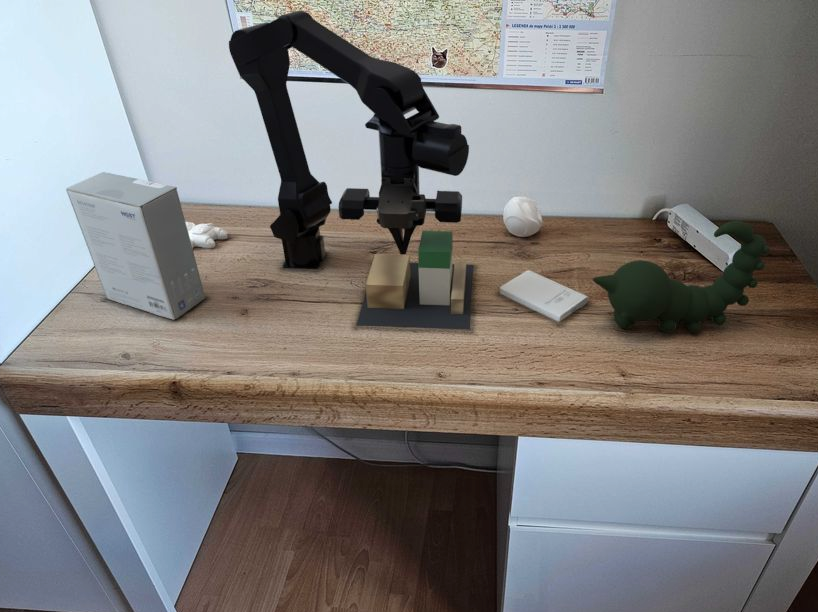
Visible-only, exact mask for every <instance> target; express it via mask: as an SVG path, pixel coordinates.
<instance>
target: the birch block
mask: <svg viewBox="0 0 818 612" xmlns="http://www.w3.org/2000/svg"><path fill="white" fill-rule="evenodd" d="M410 263H411V256H410V254H406V255H401V254H394V253H392V254H391V253H390V254H389V253H375V254H374V256H373V259H372V262H371V266H370V269H369V273H368V275H367V279H366V283H365V294H366V293H367V305H368V308H389V309H404V307H405V302H406V297H407V292H408V287H409V282H410Z"/></svg>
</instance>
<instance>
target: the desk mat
mask: <svg viewBox="0 0 818 612" xmlns="http://www.w3.org/2000/svg"><path fill="white" fill-rule="evenodd" d="M454 265H455V263H454V264H453V263H452V284H453V275H454ZM473 282H474V264H466V284H465V297H464V310H463V315H462V314H451V299H450V305H422V304H420V296H419V263H418V262H410V282H409V287H408V292H407V297H406V302H405V307H404V309H389V308H368V305H367V293H366V292H365V294H364V297H363V301H362V304H361V308H360V310H359V314H358V317H357V320H356V321H357V322H356V324H355V325H356V326H358V327H360V326H361V327H383V328H384V327H387V328H388V327H389V328H411V329H412V328H413V329H414V328H415V329H442V330H443V329H444V330H467V331H468V330H469V331H470V329H471V313H472V299H473V298H472V297H473ZM451 293H452V290H451Z"/></svg>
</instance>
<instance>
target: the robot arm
mask: <svg viewBox="0 0 818 612" xmlns="http://www.w3.org/2000/svg"><path fill="white" fill-rule="evenodd" d="M228 49H229V50H228V51H229V53H230V56H231V59H232V60H233V63H234V65H235V68H236V70H237V73H238V75H239V76H240V78H241V79H242V80H243V81H244V82H245V83H246V84H247V85H248V86H249V88H251V89H252V91H254V94H255V97H256V101H257V104H258V107H259V110H260V113H261V117H262V121H263V123H264V127H265V130H266V134H267V137H268V141H269V144H270V147H271V150H272V151H271V152H272V153H273V154H272V155H273V157H274V161H275V164H276V167H277V171H278V174H279V177H280V184H279V190H278V196H277V203H278V210H279V215H278V216H277V218H276V219H275V220H274V221H273V222H272V223H271V224H270V226H269V228H270V230H271V232H272V235H273V237H274V238H275V239H278V240H281V245H282V250H283V256H284V262H283V264H282V269H294V270H295V269H298V270H318V269H320V266H321V264H322V263H323V262H324V261H325V258H326V248H325V240H324V239H325V238H324V236H323V235H322V234H321V231H320V227H322V226H324V225H326V221H327V218H328V217H329V215H330V213H331V210H332V209H331V205H332V204H333V201H332V200H331V197H330V195H329V191H328V190H329V189H328V185H327V183H326V182H325V181H319V180H318V179H317V178H316V177H315V176H314V175H313V174H312V173H311V171H310V167H309V163H308V159H307V157H306V152H305V149H304V146H303V142H302V138H301V134H300V129H299V128H298V123H297V120H296V117H295V112H294V108H293V106H292V101H291V98H290V94H289V90H288V85H287V81H288V76H289V71H290V67H291V66H290V65H291V60H290V54H289V50H290V49H294V50H297V52H300V53H301V54H302V55H304V56H305V57H307V58H309V59H310V60H312V61H313V62H314V63H316V64H318V65H319V66H321V68H324V69H325V70H327V71H329V72H330V73H331V74H333V75H334V76H336V77H337V78H339V79H340V80H342V81H343V82H345V83H347V84H348V85H349V86H350V87H352V88H353V89H354V90H355V91H356V93H357V95H358V97H359V99H360V101H361V103H362V104H363V105H365V106H366V107H367V108H368V109H369V110H370V111H371V112H373V116H372V117H371V118H370V119H369V120H368V121H367V122H366V123H365V124H364V126H365V128H366V129H369V130H373V131H378V144H379V146H378V148H379V163H380V178H381V179H380V182H381V183H380V184H381V185H380V188H379V191H378V196H371V195H370V190H369V188H352V187H347V188H346V189H345V190H344V191H342V195H341V197H340V199H339V202H338V216H339V218H340V219H341V220H351V221H353V220H357V221H358V220H361V218H362V217H364V215H365V210H366V211H368V210H369V211H376V213H377V218H376V223H377V224H378V225H379V226H380V227H381V228H383V229H387V230H388V231H389V233H390V234H391V236H392V238H393V241H394V243H395V245H396V247H397V249H398V252H399V255H407V252H408V249H409V244H410V241H411V238H412V235H413V233H414V231H415V230H416V228H417V227H418V226H419V227H420V226H423V225H424V224H425V220H426V216H427V212H432V213H433V212H434V218H435V219H436V220H437V221H438V222H439V223H448V224H449V223H450V224H451V223H452V224H457V223H460V222H461V221H462V212H463V211H462V210H463V194H462V193H461V192H460V191H458V190H457V191H455V190H437V191H436V196H435V198H426V195H425V193H424V194H421V193H420V168H421V169H423V170H424V169H425V170H428V171H433V172H437V173H440V174H445V175H449V176H454V177H457V176H459V175H461V174H462V172H463V171H464V169H465V167H466V165H467V164H468V163H467V162H468V159H469V153H470V144H468V140H467V138H466V136H465V134H463V133H462V126H461V125H460V124H456V123H444V122H439V121H437V120H439V118H440V115H439V113H438V111H437V109H436V108H435V105H434V104H433V103H432V101H431V99H430V97H429V96H428V94H427V92H426V90H425V89H424V87H423V84H422V78H421V76H420V75H419V74H418V73H417V72H416V71H415V70H414V69H411V68H409V67H406V66H404V65H402V64H399V63H396V62H394V61H389V60H385V59H378V58H375V57H374V56H371V55H370V54H368V53H366V52H365V51H363V50H362V49H360V48H358V47H357V46H356V45H354V44H352V43H351V42H349V41H348V40H346V39H344V37H341V36H340V35H338V34H337V33H336V32H334V31H333V30H331V29H329V28H328V27H326V26H325V25H323V24H321V23H320V22H318V21H317V20H315V19H314V18H313V17H312V15H311V14H310V13H308V12H307V11H303V10H296V11H295V10H294V11H291V12H287V13H285V14H281V15H280V16H278V17H277V18H276V19H273V20H272V21H270V22H269V21H265V22H262V23H258V24H255V25H251V26H248V27H244V28H240V29H237V30H235V31H233V33H232V34H231V36H230V40H228ZM414 110H416V111H417V112H416V113H414V114H412V115H410V116H409V117H407V118H406V117H405V115H407V114H408V113H411V112H412V111H414Z"/></svg>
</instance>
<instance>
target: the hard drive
mask: <svg viewBox="0 0 818 612" xmlns="http://www.w3.org/2000/svg"><path fill="white" fill-rule="evenodd" d="M498 290H499V291H498V293H499V295H501V296H503V297H505V298H508V299H509V300H511V301H514V302H516V303H518V304H519V305H522V306H524V307H527V308H529V309H530V310H532V311H535V312H536V313H539V314H541V315H543V316H545V317H547V318H550V319H551V320H554V321H555V322H558V323H560V322H561V321H563V320H564V319H565V318H567V317H568V316H570V315H571V314H573V313H574V312H575V311H576V310H578V309H579V310H581V308H583V307H584V306H585V305H587V303H588V300H589V296H588V295H585V294H583V293H582V292H581V293H580V292H579V291H576V290H574V289H572V288H570V287H567V286H565V285H564V284H561V283H558V282H556V281H554V280H553V279H550V278H547V277H546V276H543V275H541V274H539V273H537V272H534V271H532V270H529V269H528V270H525V271H523V272H522V273H520V274H519V275H517V276H516V277H514V278H512V279H510V280H509V281H507V282H506V283H504V284H503V285H501V286H500V287H499V289H498Z"/></svg>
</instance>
